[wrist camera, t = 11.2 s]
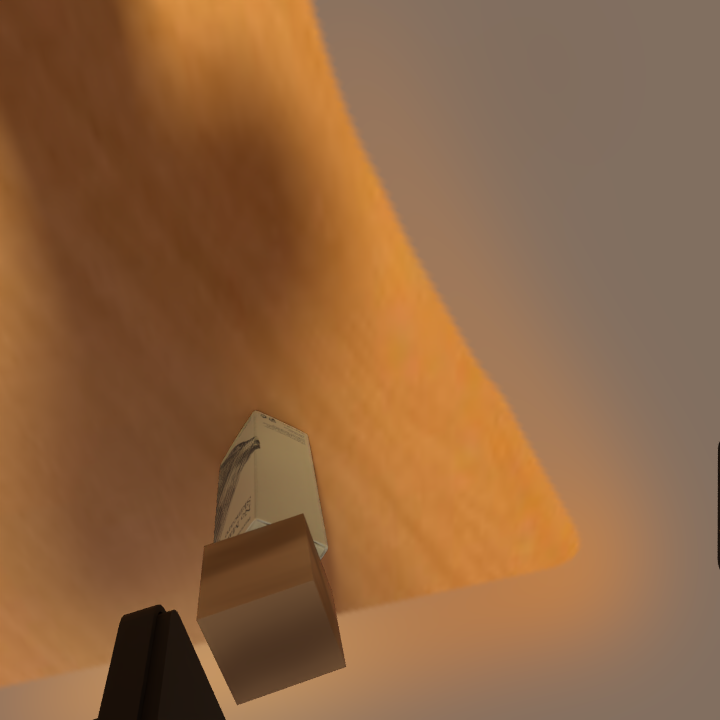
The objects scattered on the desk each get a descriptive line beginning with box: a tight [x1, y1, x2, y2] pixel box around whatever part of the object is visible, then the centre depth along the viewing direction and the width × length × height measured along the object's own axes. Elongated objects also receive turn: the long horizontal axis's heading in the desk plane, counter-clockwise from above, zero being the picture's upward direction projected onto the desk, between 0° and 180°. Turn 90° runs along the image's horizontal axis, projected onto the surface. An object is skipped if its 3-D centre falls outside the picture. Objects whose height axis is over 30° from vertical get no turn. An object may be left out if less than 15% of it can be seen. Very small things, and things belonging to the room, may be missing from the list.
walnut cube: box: [197, 513, 346, 705], centre depth 29 cm, size 5×5×5 cm
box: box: [214, 411, 328, 560], centre depth 37 cm, size 5×4×13 cm
